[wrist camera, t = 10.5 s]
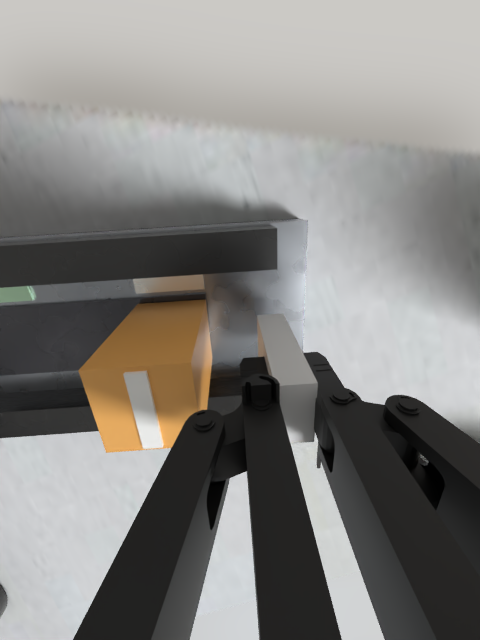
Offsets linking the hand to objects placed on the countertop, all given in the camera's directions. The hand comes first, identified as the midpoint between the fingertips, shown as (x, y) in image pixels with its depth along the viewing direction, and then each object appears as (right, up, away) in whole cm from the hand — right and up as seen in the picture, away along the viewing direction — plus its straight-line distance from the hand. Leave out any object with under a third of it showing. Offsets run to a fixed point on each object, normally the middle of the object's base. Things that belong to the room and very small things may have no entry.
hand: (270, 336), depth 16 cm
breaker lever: (-6, 0, +1) cm, 6 cm away
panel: (-10, +1, +3) cm, 10 cm away
